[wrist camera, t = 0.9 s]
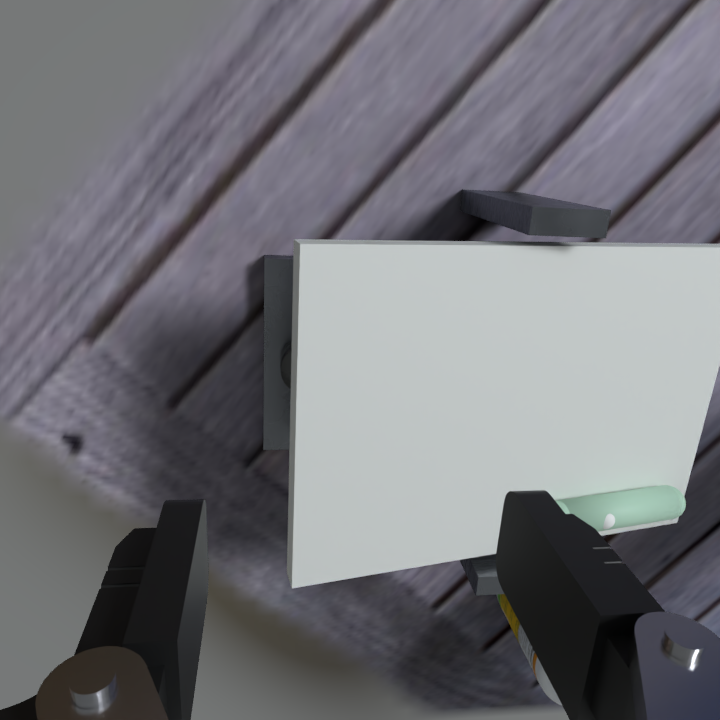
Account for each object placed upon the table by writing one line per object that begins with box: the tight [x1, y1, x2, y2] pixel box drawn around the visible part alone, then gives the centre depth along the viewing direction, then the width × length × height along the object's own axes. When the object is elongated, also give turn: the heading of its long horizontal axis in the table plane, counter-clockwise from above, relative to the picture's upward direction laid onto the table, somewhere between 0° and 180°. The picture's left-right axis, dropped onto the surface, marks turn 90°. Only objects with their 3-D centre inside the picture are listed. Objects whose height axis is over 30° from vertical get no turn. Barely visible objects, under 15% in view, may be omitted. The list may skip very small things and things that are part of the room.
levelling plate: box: [287, 239, 720, 588], centre depth 25 cm, size 20×14×3 cm
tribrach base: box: [263, 190, 611, 596], centre depth 29 cm, size 22×17×8 cm
